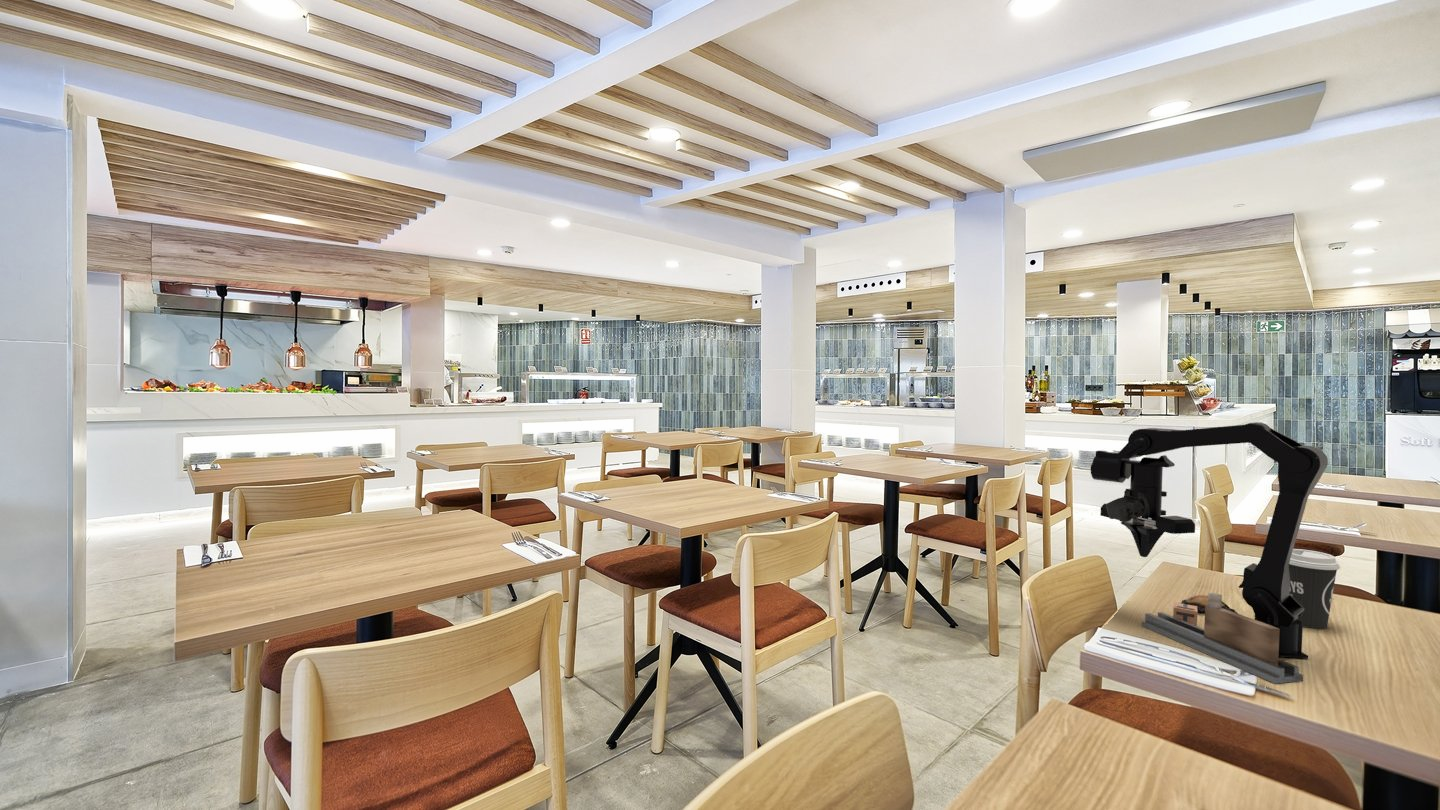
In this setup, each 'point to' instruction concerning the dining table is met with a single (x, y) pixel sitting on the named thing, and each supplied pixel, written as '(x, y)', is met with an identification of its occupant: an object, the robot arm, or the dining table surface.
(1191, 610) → the lettered cube
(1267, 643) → the screen
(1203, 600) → the bread roll
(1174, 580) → the dining table surface
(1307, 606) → the coffee cup
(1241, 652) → the track
